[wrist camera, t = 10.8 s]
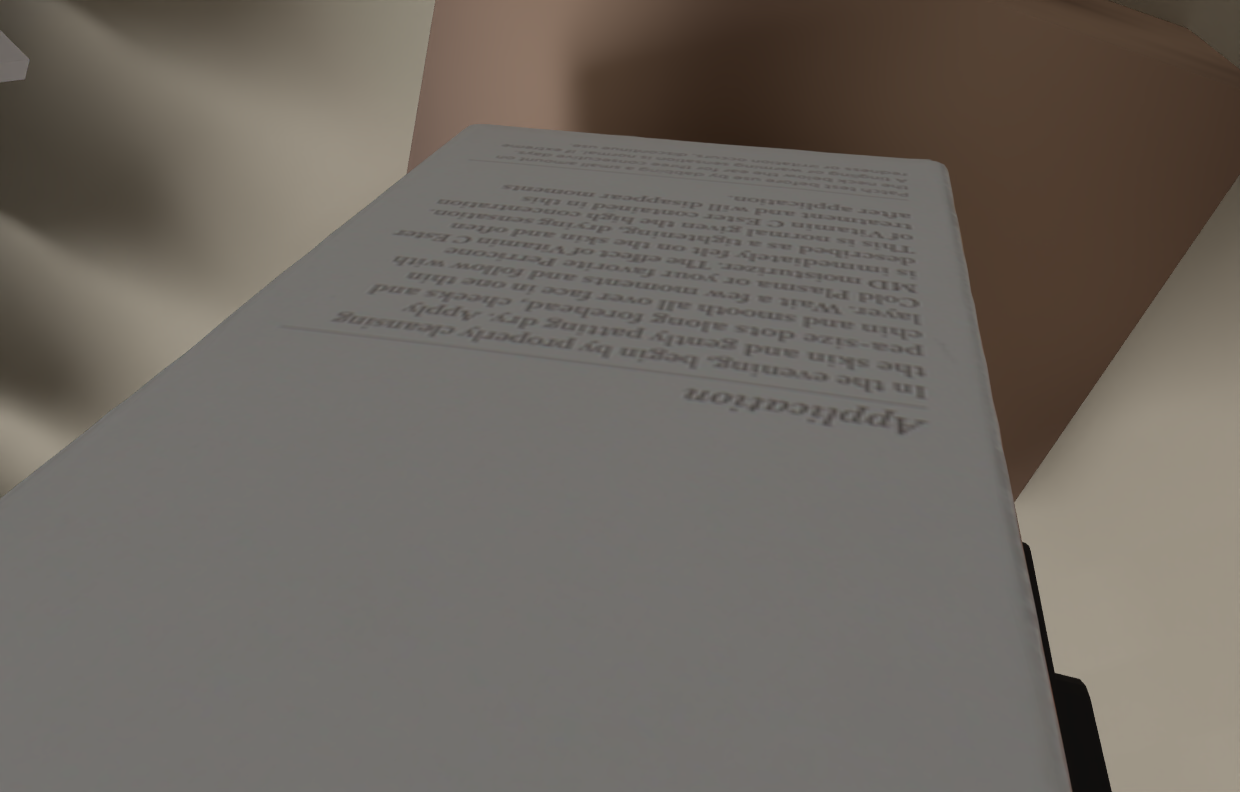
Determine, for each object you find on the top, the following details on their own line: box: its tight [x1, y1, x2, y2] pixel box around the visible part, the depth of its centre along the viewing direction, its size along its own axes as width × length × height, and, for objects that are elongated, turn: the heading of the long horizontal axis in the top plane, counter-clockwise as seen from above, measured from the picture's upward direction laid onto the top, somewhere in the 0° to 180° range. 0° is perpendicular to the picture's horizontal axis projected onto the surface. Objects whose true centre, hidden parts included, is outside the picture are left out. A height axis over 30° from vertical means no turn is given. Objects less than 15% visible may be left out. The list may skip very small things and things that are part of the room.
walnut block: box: [407, 0, 1240, 502], centre depth 18 cm, size 11×11×5 cm
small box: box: [0, 124, 1072, 792], centre depth 9 cm, size 8×6×13 cm
